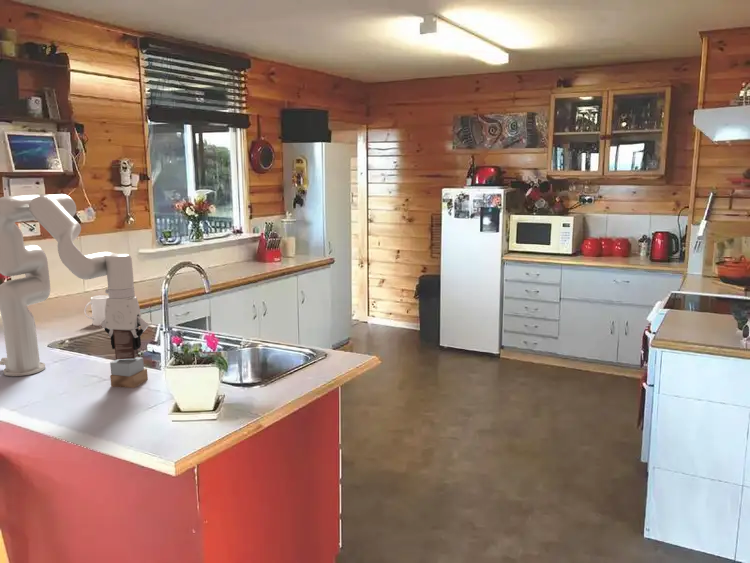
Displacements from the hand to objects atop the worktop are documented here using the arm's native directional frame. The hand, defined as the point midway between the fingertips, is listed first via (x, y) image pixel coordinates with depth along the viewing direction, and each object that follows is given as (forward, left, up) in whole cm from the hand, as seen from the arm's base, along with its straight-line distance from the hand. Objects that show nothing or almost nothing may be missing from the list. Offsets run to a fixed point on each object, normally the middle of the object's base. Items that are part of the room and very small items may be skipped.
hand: (126, 347), depth 201 cm
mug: (-56, +68, -12) cm, 89 cm away
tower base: (0, 0, -12) cm, 12 cm away
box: (0, 0, -3) cm, 3 cm away
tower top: (0, 0, -8) cm, 8 cm away
